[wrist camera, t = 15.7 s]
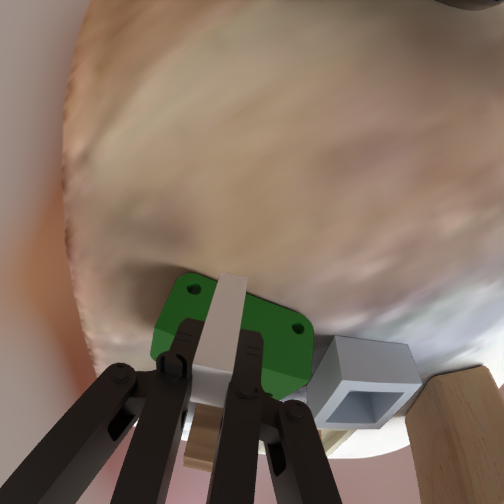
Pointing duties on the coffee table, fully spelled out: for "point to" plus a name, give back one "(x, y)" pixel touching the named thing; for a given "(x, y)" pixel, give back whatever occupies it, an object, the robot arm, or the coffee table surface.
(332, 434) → the tray
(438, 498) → the wooden block
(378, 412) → the socket
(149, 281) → the coffee table surface
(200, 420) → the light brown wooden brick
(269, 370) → the clamp
